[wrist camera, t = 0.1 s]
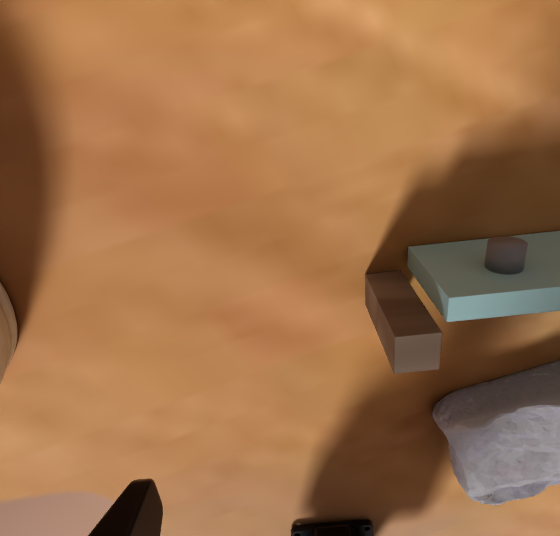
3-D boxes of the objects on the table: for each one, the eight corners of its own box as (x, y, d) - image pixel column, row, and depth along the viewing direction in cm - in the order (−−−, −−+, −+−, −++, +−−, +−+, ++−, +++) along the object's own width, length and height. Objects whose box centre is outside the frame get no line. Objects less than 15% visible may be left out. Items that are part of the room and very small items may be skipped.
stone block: (597, 416, 31) (613, 333, 25) (646, 481, 27) (679, 401, 21) (440, 454, 33) (421, 385, 27) (465, 519, 29) (450, 455, 23)
